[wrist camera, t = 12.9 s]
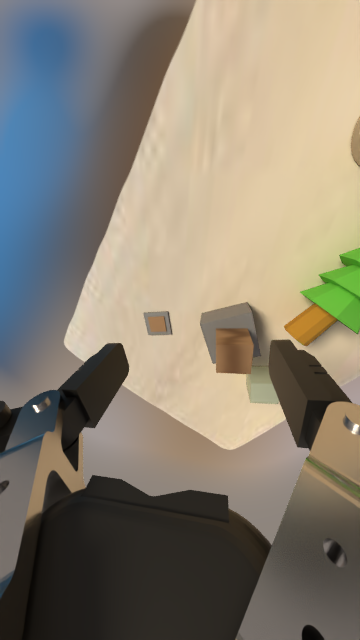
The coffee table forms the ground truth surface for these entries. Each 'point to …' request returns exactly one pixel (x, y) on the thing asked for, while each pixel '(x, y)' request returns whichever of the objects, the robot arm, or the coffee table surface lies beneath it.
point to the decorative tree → (331, 302)
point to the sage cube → (261, 386)
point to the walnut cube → (233, 350)
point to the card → (157, 323)
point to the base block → (228, 325)
